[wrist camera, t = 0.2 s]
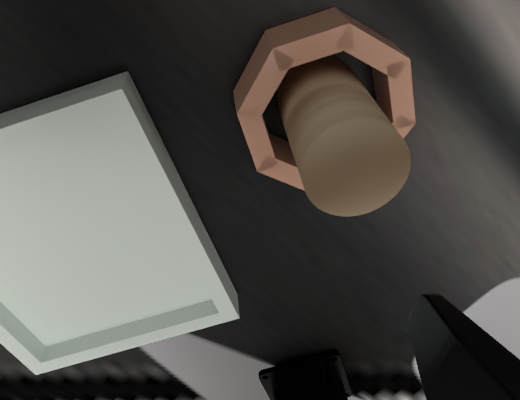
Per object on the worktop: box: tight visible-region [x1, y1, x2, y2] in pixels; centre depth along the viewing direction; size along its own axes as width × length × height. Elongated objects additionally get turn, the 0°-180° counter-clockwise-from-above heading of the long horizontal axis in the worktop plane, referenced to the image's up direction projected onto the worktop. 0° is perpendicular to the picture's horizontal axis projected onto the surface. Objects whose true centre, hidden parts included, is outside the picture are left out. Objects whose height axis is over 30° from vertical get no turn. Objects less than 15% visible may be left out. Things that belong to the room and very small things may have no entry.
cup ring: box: [233, 7, 416, 191], centre depth 21 cm, size 8×8×2 cm
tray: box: [0, 71, 239, 375], centre depth 25 cm, size 16×14×2 cm
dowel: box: [277, 56, 411, 216], centre depth 19 cm, size 4×4×7 cm
